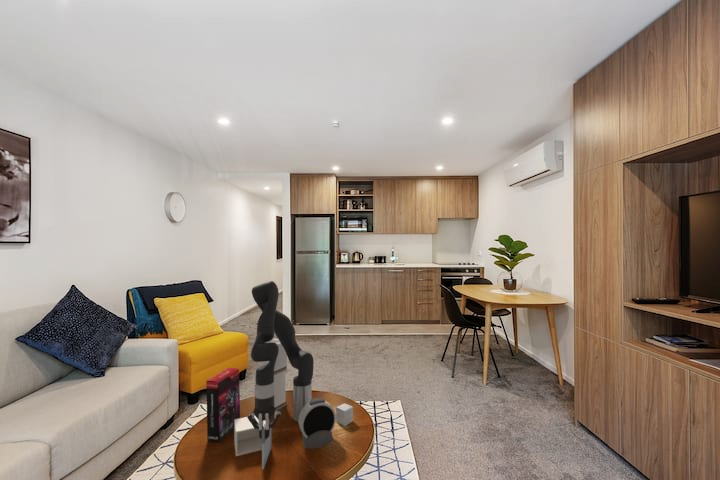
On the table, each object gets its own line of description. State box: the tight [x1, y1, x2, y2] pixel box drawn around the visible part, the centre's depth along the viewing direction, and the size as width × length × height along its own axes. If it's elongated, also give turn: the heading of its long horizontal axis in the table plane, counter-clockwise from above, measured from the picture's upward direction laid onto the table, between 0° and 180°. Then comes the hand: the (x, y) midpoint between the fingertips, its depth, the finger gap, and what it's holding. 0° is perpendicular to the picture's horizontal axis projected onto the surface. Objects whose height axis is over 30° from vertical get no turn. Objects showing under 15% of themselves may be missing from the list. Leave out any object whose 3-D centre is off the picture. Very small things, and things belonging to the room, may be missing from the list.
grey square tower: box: [256, 338, 288, 411], centre depth 180 cm, size 11×11×35 cm
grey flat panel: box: [261, 424, 272, 470], centre depth 135 cm, size 14×1×15 cm, turn 3°
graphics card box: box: [205, 367, 241, 443], centre depth 155 cm, size 17×7×27 cm, turn 168°
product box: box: [335, 403, 354, 427], centre depth 163 cm, size 6×6×7 cm
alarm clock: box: [297, 397, 337, 450], centre depth 147 cm, size 16×10×18 cm, turn 115°
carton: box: [233, 416, 265, 457], centre depth 144 cm, size 14×11×10 cm
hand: (264, 438), depth 130 cm, fingers closed
